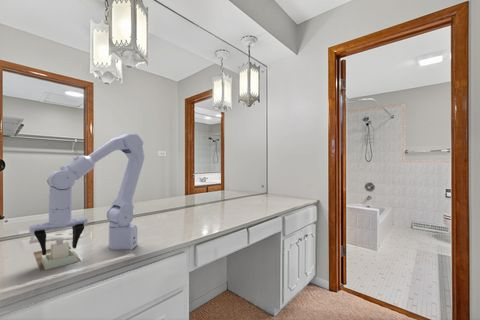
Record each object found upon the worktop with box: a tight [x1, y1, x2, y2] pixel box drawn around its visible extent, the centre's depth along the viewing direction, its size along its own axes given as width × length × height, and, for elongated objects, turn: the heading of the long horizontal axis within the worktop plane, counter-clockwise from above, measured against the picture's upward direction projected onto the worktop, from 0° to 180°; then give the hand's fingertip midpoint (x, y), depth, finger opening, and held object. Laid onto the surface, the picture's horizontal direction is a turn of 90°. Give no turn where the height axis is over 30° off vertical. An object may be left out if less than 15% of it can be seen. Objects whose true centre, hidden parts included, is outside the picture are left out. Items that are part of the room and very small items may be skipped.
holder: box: [41, 248, 79, 271], centre depth 73 cm, size 8×8×2 cm
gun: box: [29, 231, 87, 244], centre depth 96 cm, size 18×3×10 cm
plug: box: [50, 239, 70, 261], centre depth 74 cm, size 4×4×6 cm
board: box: [33, 245, 82, 273], centre depth 77 cm, size 20×10×1 cm, turn 47°
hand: (59, 250), depth 73 cm, fingers open, 7 cm apart
